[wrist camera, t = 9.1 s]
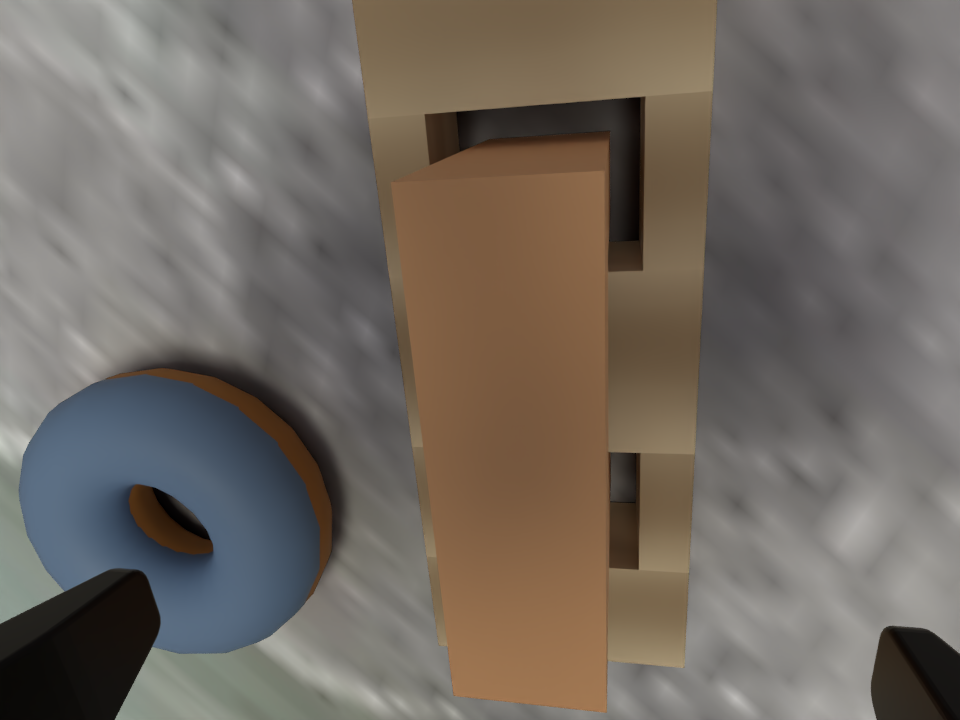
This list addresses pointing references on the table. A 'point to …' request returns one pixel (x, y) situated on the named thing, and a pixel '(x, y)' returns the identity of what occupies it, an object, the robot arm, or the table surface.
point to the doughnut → (197, 485)
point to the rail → (631, 264)
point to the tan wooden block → (515, 408)
